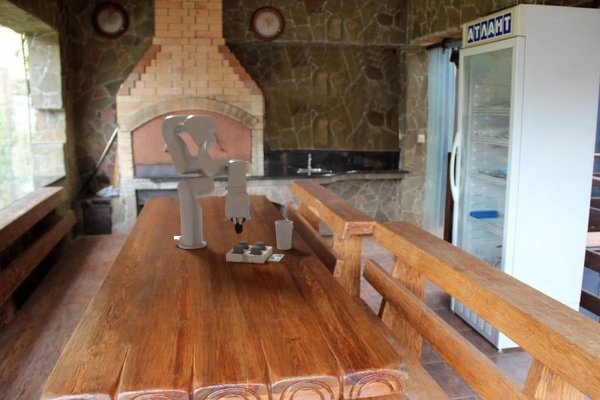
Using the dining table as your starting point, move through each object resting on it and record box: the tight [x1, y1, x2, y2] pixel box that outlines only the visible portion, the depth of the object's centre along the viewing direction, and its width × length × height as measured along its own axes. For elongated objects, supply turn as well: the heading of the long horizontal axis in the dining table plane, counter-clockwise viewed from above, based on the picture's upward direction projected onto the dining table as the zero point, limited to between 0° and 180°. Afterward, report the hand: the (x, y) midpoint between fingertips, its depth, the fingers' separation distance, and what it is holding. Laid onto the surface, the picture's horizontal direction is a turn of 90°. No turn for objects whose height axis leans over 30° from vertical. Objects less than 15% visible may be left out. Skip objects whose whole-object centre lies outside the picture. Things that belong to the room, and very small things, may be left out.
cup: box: [274, 219, 294, 251], centre depth 257 cm, size 8×8×12 cm
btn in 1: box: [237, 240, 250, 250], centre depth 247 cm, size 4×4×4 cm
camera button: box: [232, 244, 244, 254], centre depth 240 cm, size 4×4×4 cm
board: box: [225, 245, 273, 264], centre depth 244 cm, size 16×15×3 cm
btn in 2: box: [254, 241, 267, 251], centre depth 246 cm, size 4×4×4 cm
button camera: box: [251, 245, 261, 255], centre depth 239 cm, size 4×4×4 cm
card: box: [267, 253, 285, 263], centre depth 241 cm, size 5×9×1 cm, turn 169°
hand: (239, 233), depth 239 cm, fingers closed
